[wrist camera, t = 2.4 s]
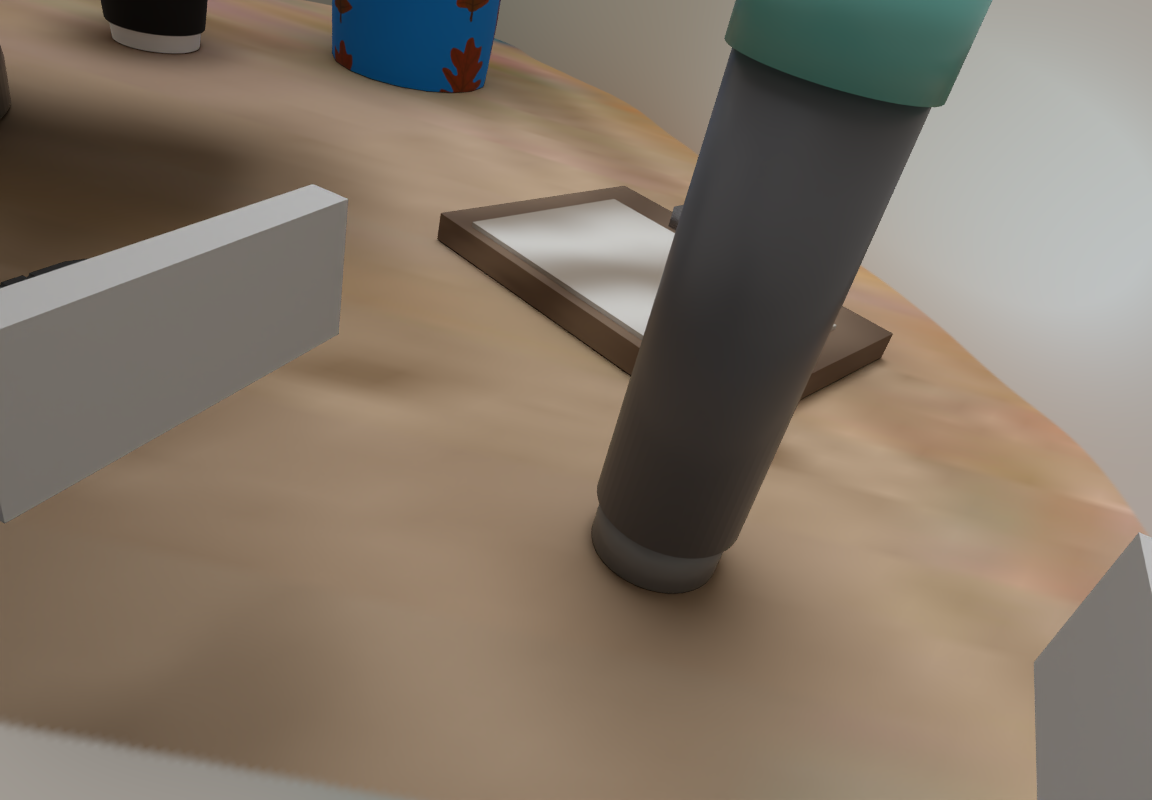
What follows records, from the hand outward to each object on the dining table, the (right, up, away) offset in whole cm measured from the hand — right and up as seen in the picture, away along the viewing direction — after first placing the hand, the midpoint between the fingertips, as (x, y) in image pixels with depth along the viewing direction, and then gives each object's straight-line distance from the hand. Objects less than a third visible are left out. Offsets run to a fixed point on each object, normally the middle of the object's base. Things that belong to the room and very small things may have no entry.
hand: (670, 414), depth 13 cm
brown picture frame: (+2, +5, +23) cm, 24 cm away
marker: (+1, -4, +10) cm, 11 cm away
